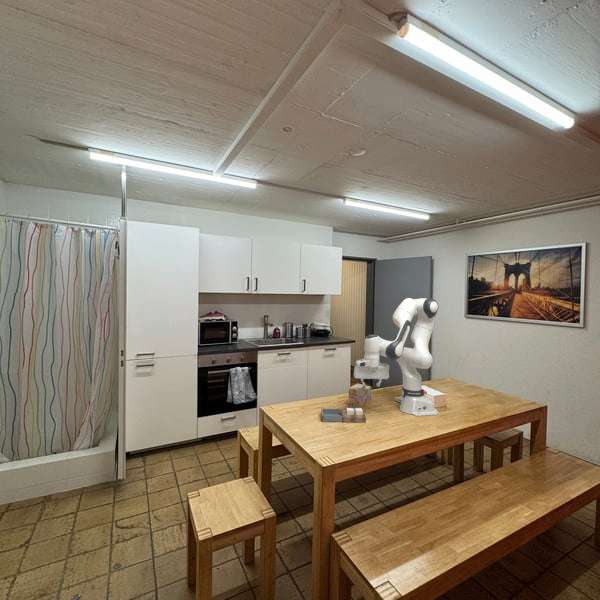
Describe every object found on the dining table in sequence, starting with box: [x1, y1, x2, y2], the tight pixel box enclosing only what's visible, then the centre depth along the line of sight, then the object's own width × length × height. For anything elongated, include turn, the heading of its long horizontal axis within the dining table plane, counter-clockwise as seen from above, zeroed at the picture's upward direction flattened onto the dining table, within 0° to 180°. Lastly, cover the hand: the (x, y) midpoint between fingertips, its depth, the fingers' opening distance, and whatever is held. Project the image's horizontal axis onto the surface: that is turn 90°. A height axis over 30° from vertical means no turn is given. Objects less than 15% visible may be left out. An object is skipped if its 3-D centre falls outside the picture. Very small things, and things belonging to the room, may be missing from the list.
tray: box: [320, 408, 343, 423], centre depth 182 cm, size 11×11×4 cm
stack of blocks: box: [347, 383, 372, 409], centre depth 208 cm, size 21×6×12 cm, turn 142°
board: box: [339, 408, 367, 424], centre depth 182 cm, size 13×12×3 cm
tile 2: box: [354, 407, 364, 415], centre depth 182 cm, size 4×4×2 cm
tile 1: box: [346, 407, 355, 415], centre depth 182 cm, size 4×4×2 cm
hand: (370, 386), depth 182 cm, fingers open, 7 cm apart
